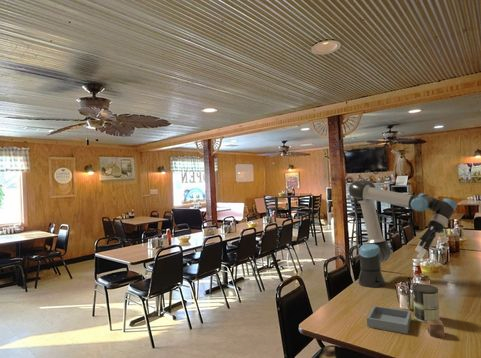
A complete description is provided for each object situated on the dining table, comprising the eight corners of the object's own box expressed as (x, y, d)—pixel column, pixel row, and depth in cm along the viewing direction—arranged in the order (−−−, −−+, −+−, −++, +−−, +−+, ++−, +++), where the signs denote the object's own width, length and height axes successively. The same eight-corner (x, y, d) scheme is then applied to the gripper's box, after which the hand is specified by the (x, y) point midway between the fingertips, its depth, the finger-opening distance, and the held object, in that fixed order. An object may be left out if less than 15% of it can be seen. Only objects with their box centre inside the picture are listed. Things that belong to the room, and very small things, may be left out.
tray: (367, 326, 144) (366, 318, 144) (374, 313, 158) (373, 305, 158) (407, 334, 136) (407, 324, 136) (411, 319, 149) (410, 311, 149)
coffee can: (411, 320, 148) (410, 289, 149) (416, 312, 156) (414, 282, 157) (438, 325, 142) (436, 293, 142) (441, 317, 150) (439, 286, 150)
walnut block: (430, 336, 133) (429, 324, 133) (427, 331, 138) (426, 319, 138) (444, 337, 131) (443, 325, 131) (441, 332, 136) (440, 320, 136)
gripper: (444, 218, 171) (423, 251, 168) (444, 234, 189) (425, 264, 186) (429, 211, 175) (409, 244, 173) (431, 228, 194) (412, 257, 191)
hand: (417, 255), depth 180 cm, fingers open, 13 cm apart
